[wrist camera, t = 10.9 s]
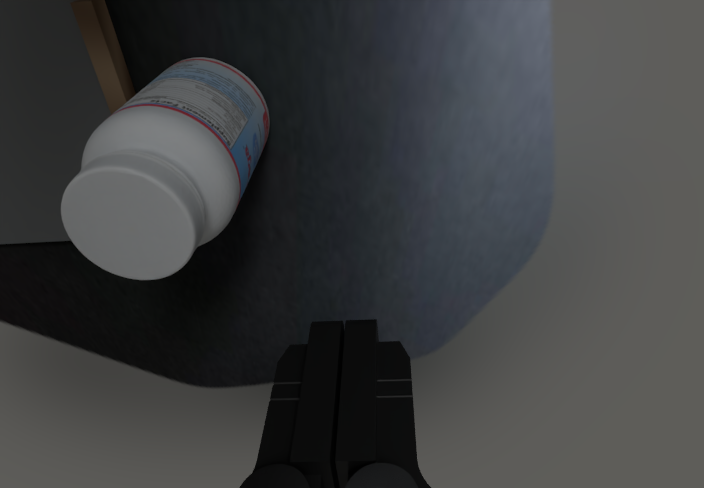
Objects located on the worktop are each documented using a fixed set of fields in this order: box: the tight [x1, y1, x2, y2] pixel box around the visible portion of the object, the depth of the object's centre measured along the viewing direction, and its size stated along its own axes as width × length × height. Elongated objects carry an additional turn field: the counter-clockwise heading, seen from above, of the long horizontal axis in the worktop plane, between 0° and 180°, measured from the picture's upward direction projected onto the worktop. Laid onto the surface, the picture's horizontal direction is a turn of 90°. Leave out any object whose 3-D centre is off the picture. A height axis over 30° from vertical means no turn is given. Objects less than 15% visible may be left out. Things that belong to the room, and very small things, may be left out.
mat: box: [0, 0, 111, 244], centre depth 27 cm, size 14×15×1 cm
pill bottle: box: [61, 57, 270, 280], centre depth 22 cm, size 6×6×11 cm
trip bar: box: [70, 0, 136, 115], centre depth 26 cm, size 12×1×1 cm, turn 5°
